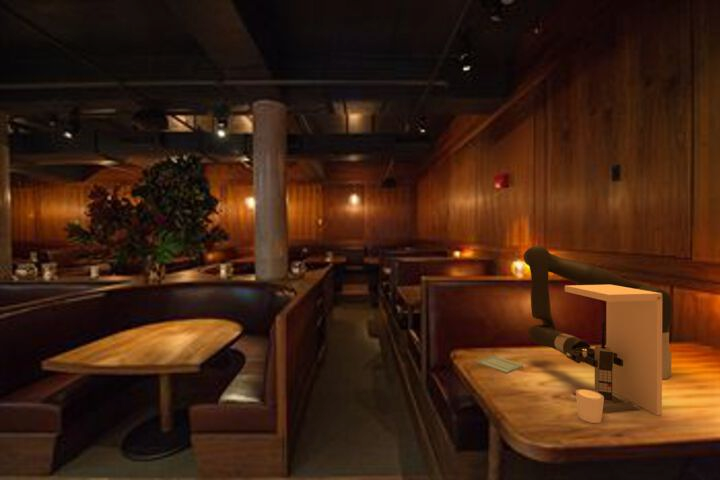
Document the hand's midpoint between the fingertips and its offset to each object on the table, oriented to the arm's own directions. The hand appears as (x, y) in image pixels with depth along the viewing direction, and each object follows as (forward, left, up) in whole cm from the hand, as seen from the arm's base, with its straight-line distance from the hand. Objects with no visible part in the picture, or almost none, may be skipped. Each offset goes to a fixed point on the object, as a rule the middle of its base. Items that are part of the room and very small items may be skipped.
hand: (609, 363), depth 105 cm
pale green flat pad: (+17, -35, -14) cm, 41 cm away
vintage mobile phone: (0, -2, -13) cm, 13 cm away
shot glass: (+12, +6, -13) cm, 19 cm away
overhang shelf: (-2, -2, -13) cm, 13 cm away
